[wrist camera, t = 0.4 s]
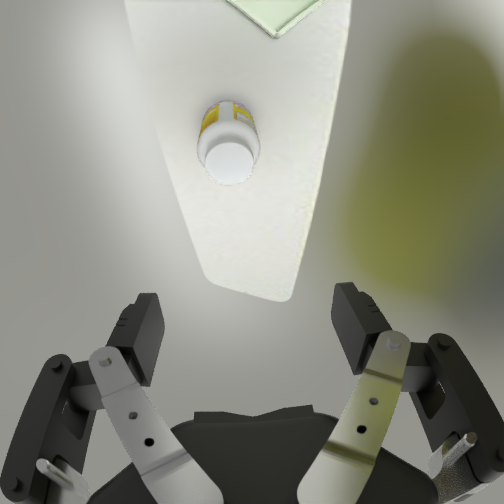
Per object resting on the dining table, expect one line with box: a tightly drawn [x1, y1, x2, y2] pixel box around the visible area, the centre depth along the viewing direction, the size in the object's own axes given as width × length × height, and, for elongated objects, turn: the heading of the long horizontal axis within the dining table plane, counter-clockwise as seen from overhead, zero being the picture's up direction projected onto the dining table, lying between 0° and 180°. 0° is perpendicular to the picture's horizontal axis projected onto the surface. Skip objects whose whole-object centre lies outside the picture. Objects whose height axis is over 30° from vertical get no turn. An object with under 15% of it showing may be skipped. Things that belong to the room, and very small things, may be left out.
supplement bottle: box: [197, 101, 260, 186], centre depth 30 cm, size 7×7×13 cm
